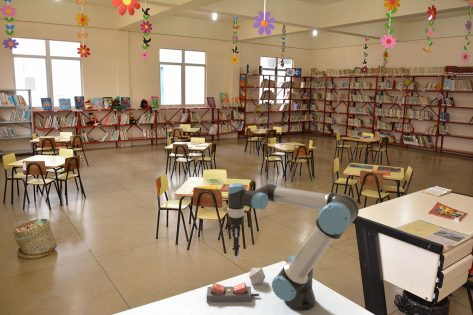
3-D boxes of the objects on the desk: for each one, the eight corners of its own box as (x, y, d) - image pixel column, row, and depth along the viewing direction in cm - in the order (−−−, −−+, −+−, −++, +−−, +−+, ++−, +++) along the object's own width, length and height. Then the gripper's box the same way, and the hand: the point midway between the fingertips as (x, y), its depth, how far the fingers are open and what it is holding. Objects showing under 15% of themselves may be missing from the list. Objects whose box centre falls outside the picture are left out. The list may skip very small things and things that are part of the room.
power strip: (258, 292, 190) (258, 285, 190) (259, 301, 183) (259, 294, 182) (207, 292, 190) (207, 286, 190) (206, 302, 183) (206, 294, 182)
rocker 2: (246, 286, 188) (244, 282, 187) (246, 291, 183) (244, 287, 183) (235, 290, 188) (233, 286, 188) (235, 295, 184) (233, 290, 183)
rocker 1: (223, 290, 188) (224, 286, 188) (222, 295, 184) (224, 290, 183) (211, 286, 188) (213, 282, 187) (211, 291, 183) (212, 287, 183)
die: (260, 290, 194) (269, 273, 195) (245, 281, 194) (255, 264, 196) (258, 287, 202) (268, 271, 204) (244, 278, 203) (254, 262, 204)
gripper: (228, 210, 184) (228, 254, 189) (228, 220, 172) (228, 267, 177) (243, 210, 185) (243, 254, 189) (244, 220, 172) (244, 267, 177)
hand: (236, 260), depth 183 cm, fingers closed
